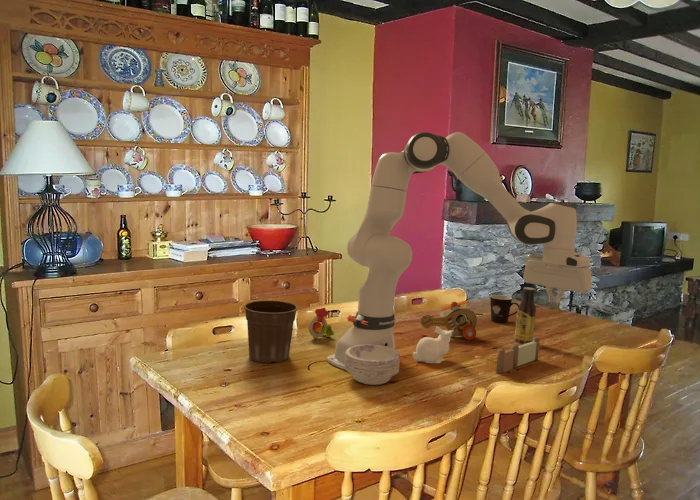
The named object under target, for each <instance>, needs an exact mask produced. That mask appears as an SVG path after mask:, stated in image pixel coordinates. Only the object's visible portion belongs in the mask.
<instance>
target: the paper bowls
mask: <svg viewBox="0 0 700 500" xmlns="http://www.w3.org/2000/svg"><path fill="white" fill-rule="evenodd" d="M400 361H401V354H400V352H399V351H398V350H396V348H395V349H393V348H390V347H387V346H382V345H373V344H365V345H356V346H352V347H350V348H348V349H347V350H346V352H345V369H346V370H345V369H344V370H345V371H347V372H348V373H349V374H351V376H352V378H353V379H354V380H355V381H357V382H358V383H361V384H364V385H369V386H370V385H371V386H379V385H384V384H385V383H388V382H389V381H391V379H392V377H393V376H396V375H397V374H398V373H399V372H400Z"/></svg>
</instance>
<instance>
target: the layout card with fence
mask: <svg viewBox="0 0 700 500" xmlns="http://www.w3.org/2000/svg"><path fill="white" fill-rule="evenodd" d="M519 346H520V345H518V344H511V348H509V349H507V350H505V349H503V348H498V349H497V355H496V369H495V373H496V374H498V375H502V374H505V373H509V372H510V371H513V370H516V369H518V366H517V359H518V347H519ZM474 357H475V358H476V359H484V356H481V355H475V356H474ZM487 361H489V362H490V359H488V358H487ZM492 363H495V361H494V360H492Z"/></svg>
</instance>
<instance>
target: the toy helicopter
mask: <svg viewBox="0 0 700 500" xmlns="http://www.w3.org/2000/svg"><path fill="white" fill-rule="evenodd" d="M469 302H470V301H469V300H463V301H458V302H456V301H452V302H451V303H450V305H447V306H444V307H441V308H439V311H441V312H443V311H447V310H448V309H450V311H451V312H449V314H448V315H446V316H431V315H430V314H428V313H427V314H422V315H421V316H420V319H419V324H420V325H421V326H422V327H423V328H424V329H430V328H431V327H436V326H438V327H445V328H446V329H447V331H450V330H454V331H453V332H452V336H450V339H452V338H455V337H458V336H459V337H463V338H464V340H465V339H466V340H467V341H472V340H474V339H475V338H476V336H477V330H476V329H475V328H476V326H477V322H478V318H477V315H476V313H475V312H474V311H473V310H471V309H470V308H465V307H464V308H461V305H465V304H469Z"/></svg>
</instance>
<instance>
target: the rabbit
mask: <svg viewBox="0 0 700 500" xmlns="http://www.w3.org/2000/svg"><path fill="white" fill-rule="evenodd" d="M453 331H454V330H450V331H448V330H446V329H444V330H443V328H441V327H440V326H435V329H434V333H436V334H439V335H438V336H437V337H436V338H433V337H430V336H425V337H423V338H421V339H420V340H419V341H418V342H417V344H416V348H415V351H413V353H412V357H413V359H414V360H415V361H417V362H420V363H425V364H441V363H442V362H445V361H446V359H444V358H443V356H445V355H446V354H448V352H449V351H450V341H451V337H450V336H452V332H453Z"/></svg>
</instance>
